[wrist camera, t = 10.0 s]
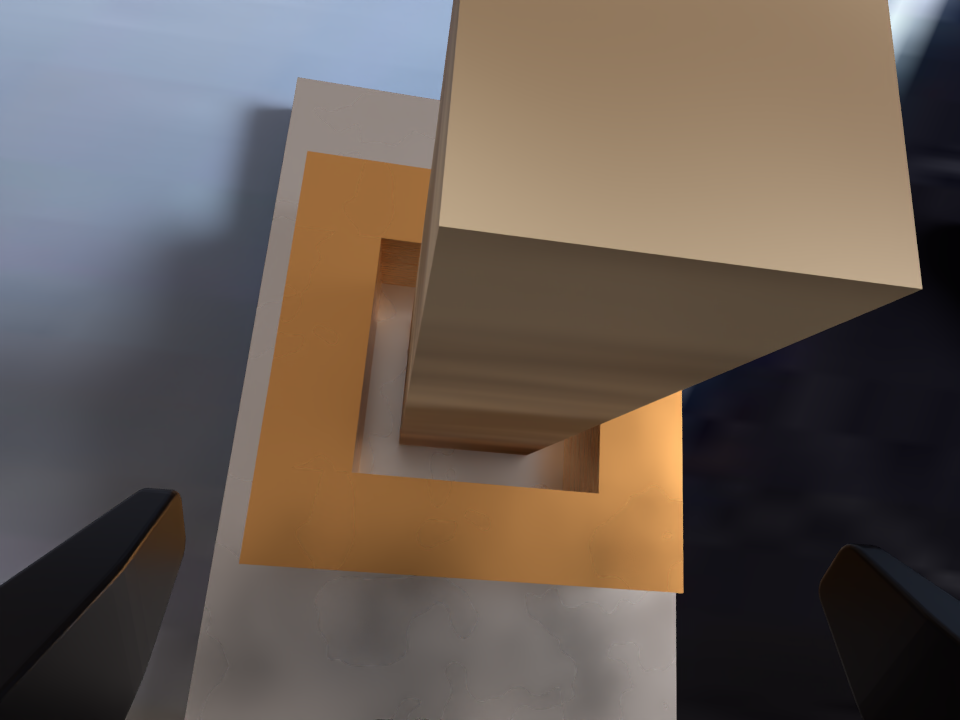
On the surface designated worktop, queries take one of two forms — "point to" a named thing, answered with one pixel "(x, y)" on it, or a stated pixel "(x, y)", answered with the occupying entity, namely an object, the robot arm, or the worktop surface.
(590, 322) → the tan block
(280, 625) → the bracket plate
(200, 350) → the worktop surface
